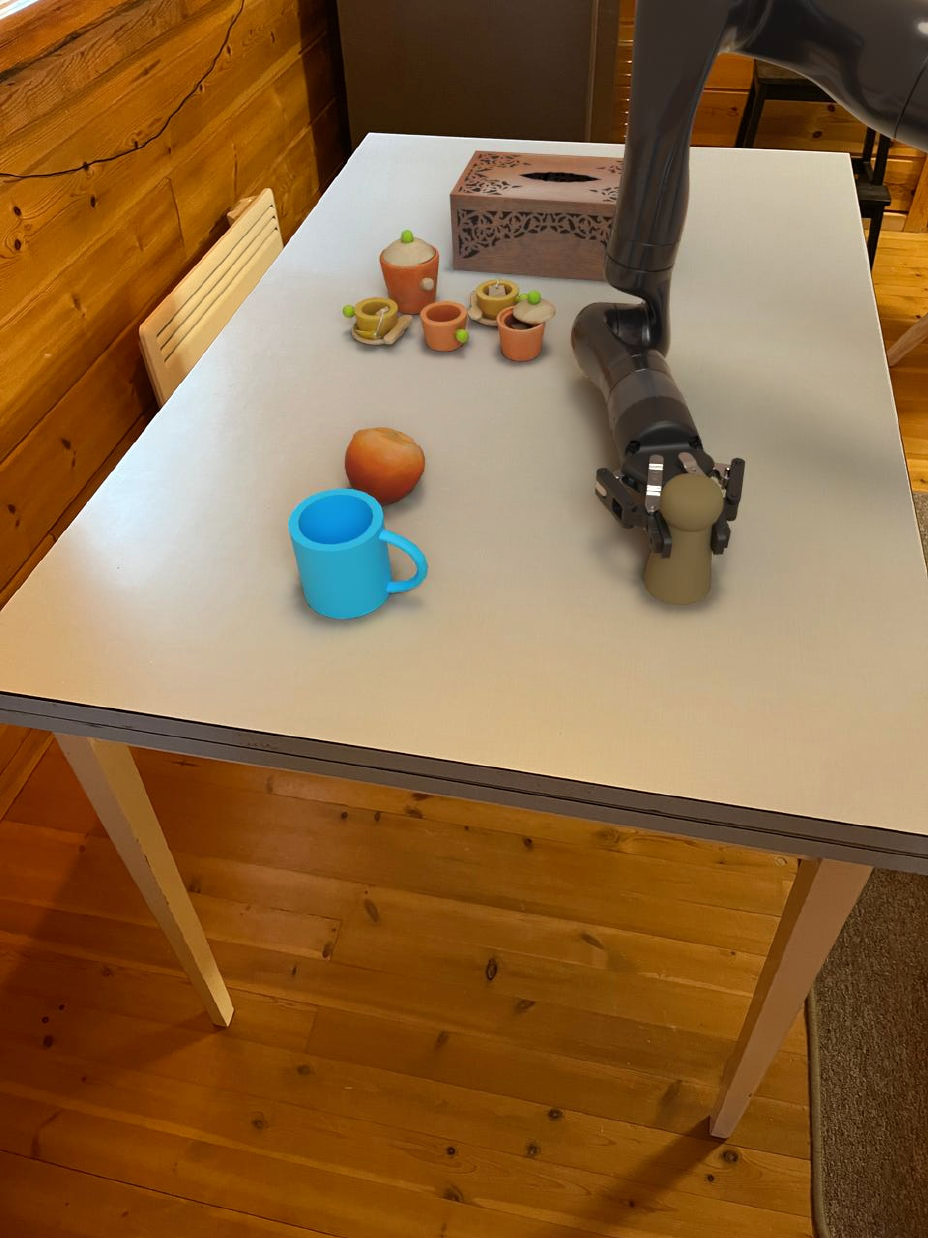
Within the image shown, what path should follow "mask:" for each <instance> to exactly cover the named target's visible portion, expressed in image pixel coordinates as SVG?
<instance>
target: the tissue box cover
mask: <svg viewBox="0 0 928 1238" xmlns="http://www.w3.org/2000/svg"><path fill="white" fill-rule="evenodd" d="M623 159H624V157H613V156H612V157H611V156H592V155H591V156H590V155H573V154H571V155H570V154H555V153H553V154H552V153H550V154H549V153H534V152H533V153H532V152H516V151H515V152H513V151H493V150H492V151H491V150H474V152H473V154H472V155H471V157H470V159H469V161H468V163H467V164H466V166H465V168H464V170H463V171H462V173H461V174H460V176H459V178H458V180H457V182H456V183H455V185H454V186H453V188H452V190H451V192H450V193H449V207H450V210H449V211H450V226H451V227H450V228H451V245H452V264H453V265H452V266H453V270H458V271H471V272H484V273H497V274H509V275H510V274H511V275H522V276H535V277H536V276H537V277H549V278H563V279H577V280H587V281H601V282H607V281H606V280H605V278H604V275H603V263H604V258H605V253H606V248H607V243H608V239H609V234H610V229H611V224H612V219H613V214H614V210H615V205H616V200H617V195H618V190H619V184H620V178H621V172H622V165H623Z"/></svg>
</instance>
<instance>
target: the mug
mask: <svg viewBox="0 0 928 1238" xmlns="http://www.w3.org/2000/svg"><path fill="white" fill-rule="evenodd" d="M287 525H288V533H289V537H290V541H291V545H292V549H293V554H294V558H295V562H296V566H297V569H298V575H299V578H300V583H301V587H302V592H303V595H304V599H305V601H306V602H307V604H308V605H309V607H310V609H312V610H314V611H315V612H317V613H318V614H319V615H321V616H324V617H327V618H331V619H341V620H349V619H354V618H355V619H356V618H359V617H363V616H366V615H369V614H370V613H372V612H374V611H376V610H377V609H378V608H380V607H382V606H383V605H384V604H385V603H386V601H387V599H388V598H389V597H390V595H391V594H396V593H403V592H409V591H411V590H413V589H415V588H418V587H419V586H420V585H421V584H422V583H423V582H424V581H425V580H426V578H427V575H428V570H429V564H428V561H427V558H426V555H425V554H424V553H423V551H422V550H421V549H420V548H419V547H418V545H416V544H415V543H414V542H412V541H411V540H409V539H408V538H406V537H405V536H402V535H401V534H399V533H396V532H394V531H392V530H388V529H386V525H385V516H384V512H383V508H382V505H380V504H379V503H378V502H377V501H376V499H375V498H373V497H372V496H370V495H368V494H366V493H365V492H361V491H357V490H353V489H352V488H334V489H328V490H323V491H319V492H316V493H314V494H311V495H309V496H307V497H306V498H305V499H303V500H302V501H300V502H299V503H298V504H297V505H296V506H295V507H294V509H293V510H292V511H291V512H290V516H289V518H288V520H287ZM388 544H389V545H392V546H394V547H396V548H398V549H400V550H401V551H402V552H403V553H405V554H407V555H408V556H409V557H410V558H411V560H412V561H413V562H414V565H415V568H416V572H415V574H414V575H413V576H412V577H410V578H408V579H404V580H398V581H395V580H393V575H392V568H391V566H392V565H391V560H390V559H391V558H390V553H389V545H388Z"/></svg>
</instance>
